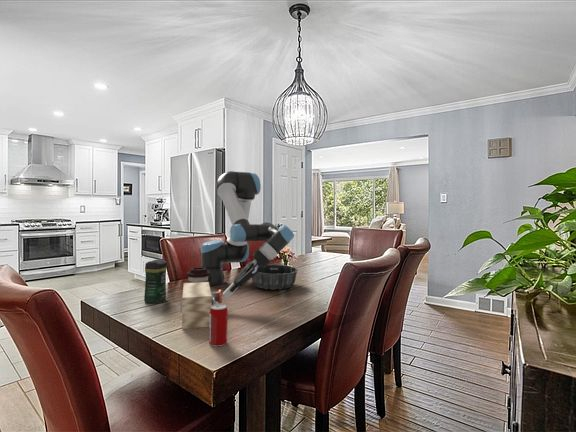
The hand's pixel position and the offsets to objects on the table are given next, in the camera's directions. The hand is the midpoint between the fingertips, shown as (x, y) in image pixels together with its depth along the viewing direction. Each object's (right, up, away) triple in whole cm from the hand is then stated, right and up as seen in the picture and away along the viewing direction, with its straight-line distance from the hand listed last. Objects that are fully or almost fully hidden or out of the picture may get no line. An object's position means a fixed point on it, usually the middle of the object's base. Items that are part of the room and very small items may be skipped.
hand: (224, 296), depth 131 cm
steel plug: (-7, -3, -13) cm, 15 cm away
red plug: (-7, -3, -2) cm, 8 cm away
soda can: (+4, -7, -31) cm, 32 cm away
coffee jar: (-33, -5, +12) cm, 36 cm away
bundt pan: (+18, -6, +43) cm, 47 cm away
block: (-9, -6, -8) cm, 14 cm away
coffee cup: (-14, -6, +12) cm, 20 cm away
